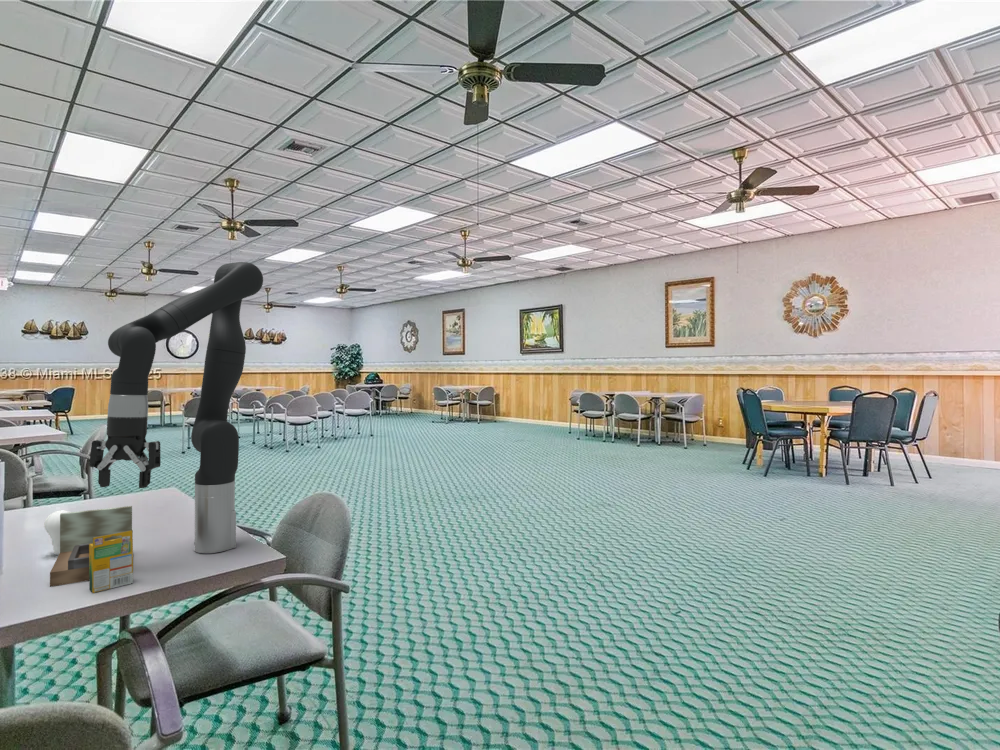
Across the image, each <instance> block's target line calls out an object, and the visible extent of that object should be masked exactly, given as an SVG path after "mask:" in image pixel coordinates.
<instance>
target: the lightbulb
mask: <svg viewBox="0 0 1000 750" xmlns="http://www.w3.org/2000/svg"><path fill="white" fill-rule="evenodd" d="M69 512H70V511H69V510H63V509H61V510H56V511H53V512H51V513H50V514H49V515H48V516H47V517H46V519H45V520H44V524H43V525H44V526H43V527H44V530H45V531H46V533H47V534H48V535H49V538H50V539H51V544H52V547H53V548H52V549H53V553H54V555H57V556H59V554H60V514H61V513H69Z"/></svg>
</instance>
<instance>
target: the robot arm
mask: <svg viewBox="0 0 1000 750" xmlns="http://www.w3.org/2000/svg"><path fill="white" fill-rule="evenodd" d="M263 283H264V276H263V273H262V271H261V269H260V268H259V267H258V266H256V265H255V264H253V263H252V262H247V261H237V262H229V263H225V264H222V265H221V266H218V268H217V270H216V271H215V274H214V278H213V283H211V284H210V285H207V286H205V287H203V288H201V289H198V290H195V291H193V292H191V293H189V294H186V295H183V296H181V297H179V298H176V299H174V300H172V301H170V302H168V303H166V304H165V305H163V306H161V307H159V308H157V309H156V310H154V311H152V312H151V313H149V314H147V315H145V316H143V317H140V318H138V319H136V320H133V321H131V322H128V323H126V324H124V325H122V326H120V327H118V328H116V329H115V330H114V331H112V332H111V334H110V335H109V337H108V340H107V345H108V348H109V350H110V352H111V353H112V354H113V355H115V356H117V357H119V361H118V362H119V363H118V367H117V368H116V369H114V370H113V372H112V374H111V377H110V389H109V391H110V392H109V394H110V395H109V400H108V403H107V417H106V418H107V420H106V435H107V439H106V440H105V439H95V440H92V442H91V446H90V456H89V463H88V465H89V467H90V468H95V469H97V470H98V478H97V483H98V485H99V487H100V488H107V487H109V486H110V485H111V484H110V482H111V471H112V470H111V469H110V468H111V467H112V466H113V465H114V463H115V462H117V461H122V460H123V461H128V462H129V461H132V463H134V464H135V465H136V466H137V467H138V469H139V470H140V471H139V474H138V476H139V477H138V488H139V489H144V488H145V489H146V488H147V487H148V486H149V485H150V483H151V474H152V470H154V469H156V468H160V467H161V442H160V441H159V440H156V441H147V440H146V437H147V434H148V419H149V418H148V417H149V400H148V398H149V397H148V394H149V393H148V392H149V375H150V373H151V370H152V368H153V363H154V360H155V355H156V349H157V344H156V343H159V342H161V341H164V340H167V339H171V338H173V337H175V336H177V335H179V334H180V333H182V332H184V331H185V330H187V329H188V328H190V327H192V326H193V325H195V324H197V323H198V322H200V321H202V320H203V319H205V318H206V317H208V316H210V315H211V321H210V327H209V335H208V342H207V345H206V350H205V351H206V352H205V359H204V366H203V367H204V368H203V375H202V381H201V382H202V383H201V390H200V398H199V402H198V403H199V404H198V407H197V411H196V415H195V419H194V423H193V426H192V430H191V434H190V439H191V443H192V444H191V445H192V447H193V448H194V449H195V450H196V451H197V452H199V453H200V455H199V457H200V458H199V461H200V462H199V467H198V469H197V471H195V474H194V541H193V543H194V552H196V553H199V554H214V553H221V552H225V551H229V550H231V549H236V548H237V544H236V543H237V511H236V508H235V507H236V506H235V505H236V502H235V501H236V498H235V497H236V495H235V494H236V493H235V492H236V473H237V471H238V467H239V451H240V438H239V437H240V436H239V433H238V429H237V428H236V427H235V425H234V424H232V423H231V422H228V414H229V407H230V402H231V400H232V396H233V394H234V392H235V390H236V388H237V387H238V384H239V381H240V379H241V377H242V375H243V371H244V364H245V358H246V354H247V353H246V352H247V346H246V339H245V336H244V333H243V329H242V326H241V321H240V318H241V317H240V314H241V307H242V302H243V299H245V298H249V297H251V296H254V295H256V294H258V292H259V291H261V289H262V288H263ZM105 449H107V451H108V452H107V453H106V454H105V455H104V450H105ZM145 450H147V452H148V455H146V453H145Z"/></svg>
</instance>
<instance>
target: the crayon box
mask: <svg viewBox="0 0 1000 750" xmlns="http://www.w3.org/2000/svg"><path fill="white" fill-rule="evenodd" d="M111 536H122V538H118V539H113V540H108V541H105V540H104V539H105V538H109V537H111ZM133 538H134V537H133V529H132V530H130V531H125V532H120V533H114V534H109V535H104V536H99V537H93V543H92V544H89V581H88V584H89V585H88V586H89V587H88V588H89V591H90V592H91V593H92V594H95V592H96V593H99V592H102V591H107V590H111V589H115V588H118V587H122V586H123V587H124V586H127V585H132V584H133V583H134V550H133V549H134V541H133V540H134V539H133ZM131 583H132V584H131Z"/></svg>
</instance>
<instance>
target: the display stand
mask: <svg viewBox="0 0 1000 750" xmlns="http://www.w3.org/2000/svg"><path fill="white" fill-rule="evenodd" d="M130 530H133V505H129V506H128V505H127V506H118V507H108V508H100V509H98V508H97V509H90V510H88V509H87V510H81V511H80V510H79V511H69V513H61V514H60V554H59V555H57V558H56V559H55V562H54V564H53V566H52V567H51V570H50V572H49V588H50V587H51V586H52V587H58V586H62V585H70V584H76V583H83V582H87V581H88V582H89V544H92V543H93V537H99V536H104V535H109V534H114V533H120V532H125V531H130ZM118 538H122V536H111V537H109V538H105V539H104V540H105V541H108V540H113V539H118ZM52 587H51V588H52Z"/></svg>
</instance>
